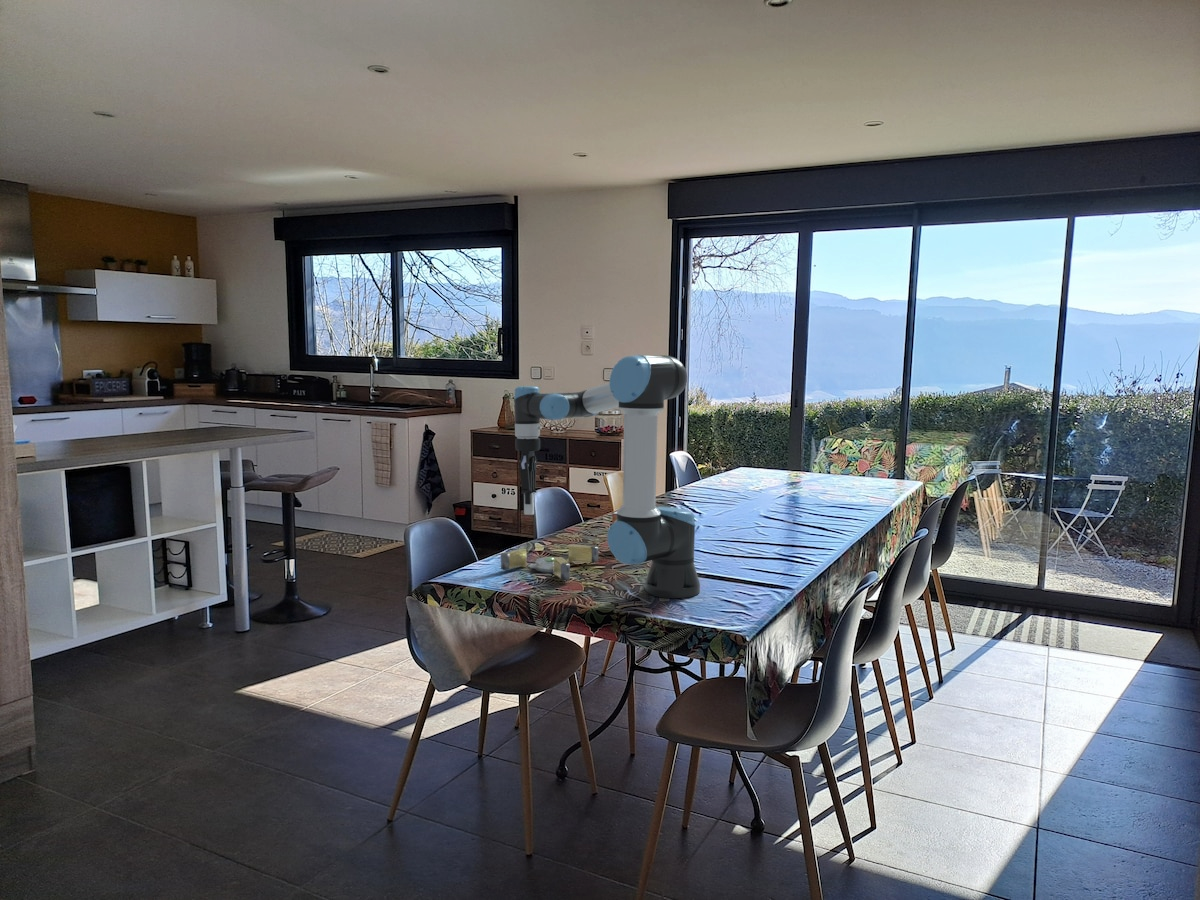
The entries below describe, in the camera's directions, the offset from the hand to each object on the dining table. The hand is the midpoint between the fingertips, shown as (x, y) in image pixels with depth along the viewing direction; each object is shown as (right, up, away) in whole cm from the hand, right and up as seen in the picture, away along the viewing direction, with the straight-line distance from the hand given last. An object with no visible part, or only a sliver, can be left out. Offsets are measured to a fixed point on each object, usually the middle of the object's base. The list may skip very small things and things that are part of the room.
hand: (529, 514), depth 243 cm
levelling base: (+7, -17, 0) cm, 18 cm away
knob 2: (+16, -16, +5) cm, 23 cm away
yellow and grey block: (-4, -17, -2) cm, 17 cm away
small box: (+31, -14, +22) cm, 40 cm away
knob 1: (+11, -18, -13) cm, 24 cm away
